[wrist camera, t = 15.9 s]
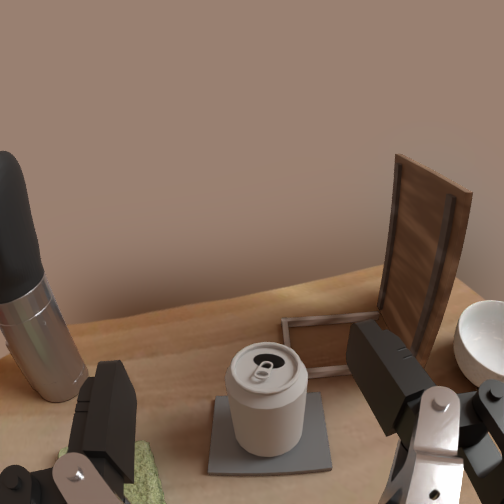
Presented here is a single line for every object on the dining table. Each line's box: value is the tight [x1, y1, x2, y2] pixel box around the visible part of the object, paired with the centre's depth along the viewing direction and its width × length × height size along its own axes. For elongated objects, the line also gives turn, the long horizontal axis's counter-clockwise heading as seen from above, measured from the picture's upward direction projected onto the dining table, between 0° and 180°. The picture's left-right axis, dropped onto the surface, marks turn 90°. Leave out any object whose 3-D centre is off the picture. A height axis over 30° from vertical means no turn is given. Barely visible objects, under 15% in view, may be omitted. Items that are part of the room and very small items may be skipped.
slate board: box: [208, 392, 332, 476], centre depth 33 cm, size 13×11×1 cm
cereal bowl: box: [454, 300, 504, 387], centre depth 34 cm, size 17×17×7 cm
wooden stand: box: [281, 154, 473, 378], centre depth 39 cm, size 18×18×26 cm
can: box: [225, 342, 308, 457], centre depth 30 cm, size 8×8×12 cm
